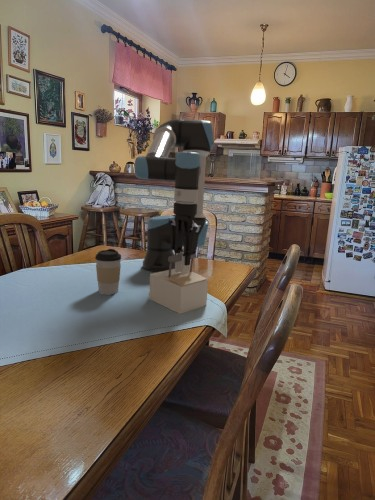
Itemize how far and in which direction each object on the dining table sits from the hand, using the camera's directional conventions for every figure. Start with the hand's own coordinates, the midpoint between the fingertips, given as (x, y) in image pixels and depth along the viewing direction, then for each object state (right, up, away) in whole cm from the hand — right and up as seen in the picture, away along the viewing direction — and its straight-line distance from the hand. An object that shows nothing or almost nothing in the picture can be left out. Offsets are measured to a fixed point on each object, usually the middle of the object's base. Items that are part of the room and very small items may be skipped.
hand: (181, 272), depth 119 cm
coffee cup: (-27, -8, +10) cm, 30 cm away
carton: (-1, -10, +4) cm, 11 cm away
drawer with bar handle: (+2, -2, -1) cm, 3 cm away
